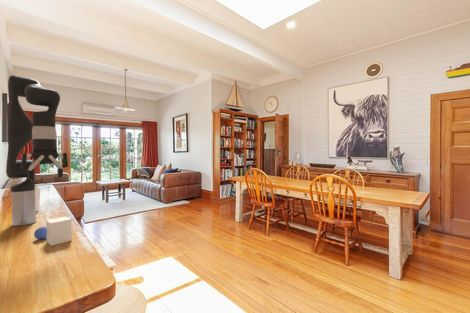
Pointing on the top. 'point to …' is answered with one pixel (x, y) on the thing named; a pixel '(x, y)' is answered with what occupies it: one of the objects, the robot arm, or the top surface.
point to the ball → (41, 233)
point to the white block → (58, 230)
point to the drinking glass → (37, 198)
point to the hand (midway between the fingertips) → (46, 179)
